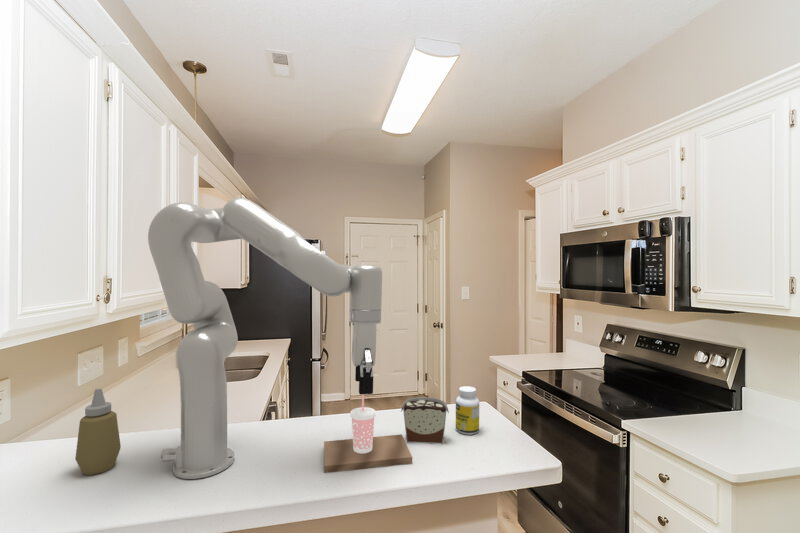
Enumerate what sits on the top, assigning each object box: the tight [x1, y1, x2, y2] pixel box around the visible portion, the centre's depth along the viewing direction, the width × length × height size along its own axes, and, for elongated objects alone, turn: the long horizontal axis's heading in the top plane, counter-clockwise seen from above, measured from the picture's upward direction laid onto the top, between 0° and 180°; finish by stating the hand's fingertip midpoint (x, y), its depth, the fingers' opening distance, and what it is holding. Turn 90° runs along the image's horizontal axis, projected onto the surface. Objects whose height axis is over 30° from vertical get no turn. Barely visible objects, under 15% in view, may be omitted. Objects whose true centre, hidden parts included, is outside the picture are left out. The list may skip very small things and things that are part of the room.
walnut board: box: [323, 434, 413, 474], centre depth 92 cm, size 20×12×2 cm, turn 101°
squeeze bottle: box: [74, 388, 121, 476], centre depth 86 cm, size 8×8×18 cm
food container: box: [400, 396, 450, 445], centre depth 101 cm, size 12×6×10 cm, turn 85°
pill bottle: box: [455, 385, 480, 436], centre depth 106 cm, size 6×6×12 cm
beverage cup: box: [349, 394, 376, 453], centre depth 92 cm, size 6×6×14 cm
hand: (363, 387), depth 92 cm, fingers open, 9 cm apart
